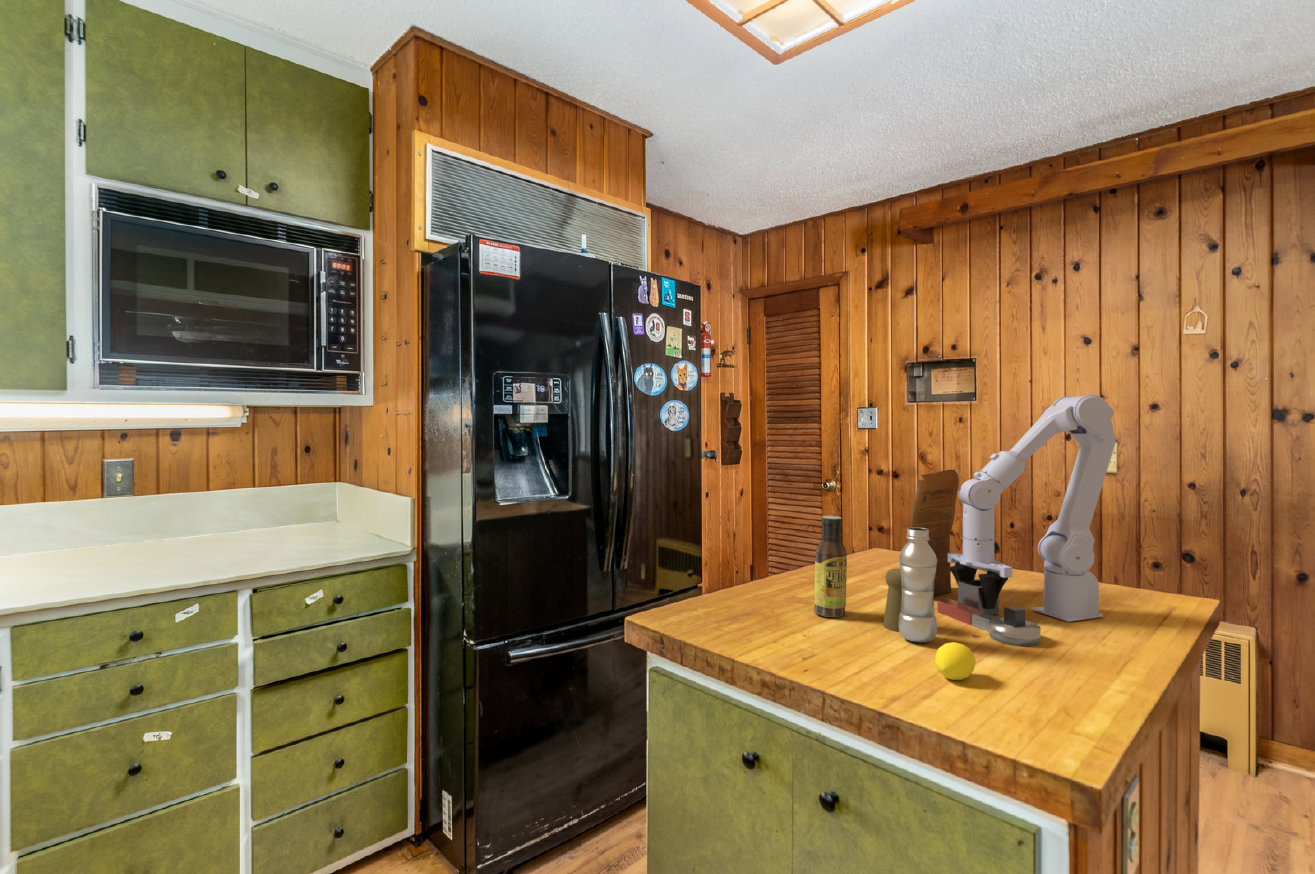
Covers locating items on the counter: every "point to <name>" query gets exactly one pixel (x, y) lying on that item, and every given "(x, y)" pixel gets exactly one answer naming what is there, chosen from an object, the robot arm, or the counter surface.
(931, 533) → the pancake mix bag
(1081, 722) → the counter surface
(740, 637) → the counter surface
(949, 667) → the lemon
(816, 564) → the sauce bottle
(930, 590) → the plastic bottle
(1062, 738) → the counter surface
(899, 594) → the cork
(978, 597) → the square hollow tube
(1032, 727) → the counter surface
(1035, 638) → the ratchet
